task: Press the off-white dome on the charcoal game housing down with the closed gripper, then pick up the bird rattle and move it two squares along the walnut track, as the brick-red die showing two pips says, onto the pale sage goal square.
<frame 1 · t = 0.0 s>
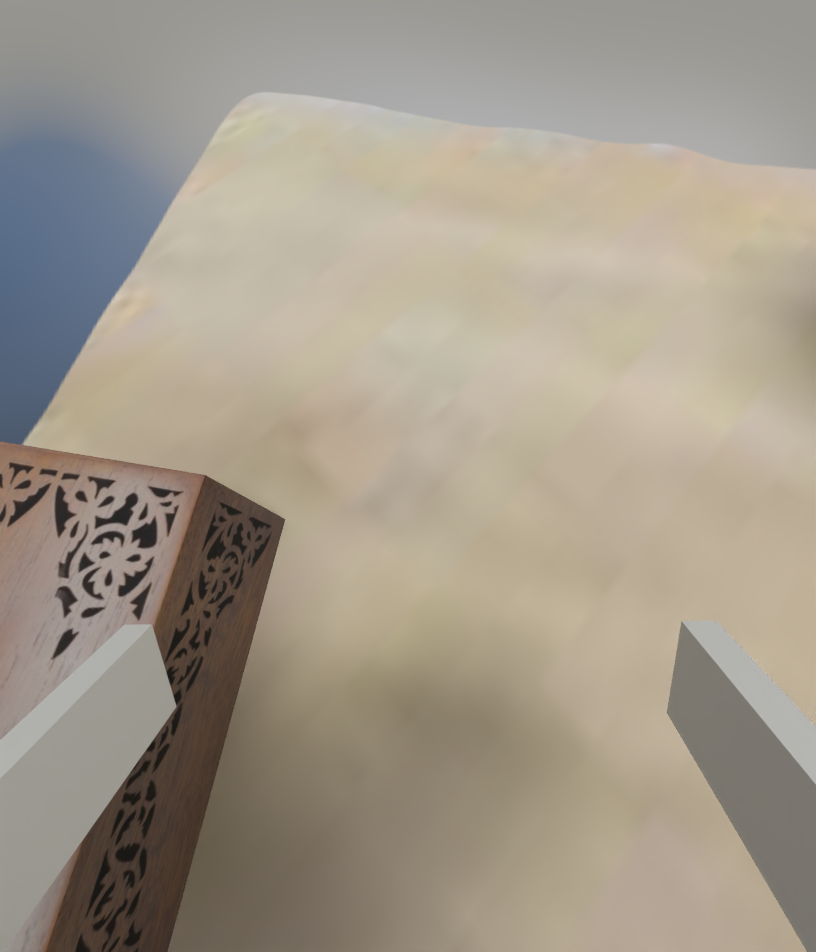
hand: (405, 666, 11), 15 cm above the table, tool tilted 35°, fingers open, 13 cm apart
tissue box cover: (121, 705, 27), on the table
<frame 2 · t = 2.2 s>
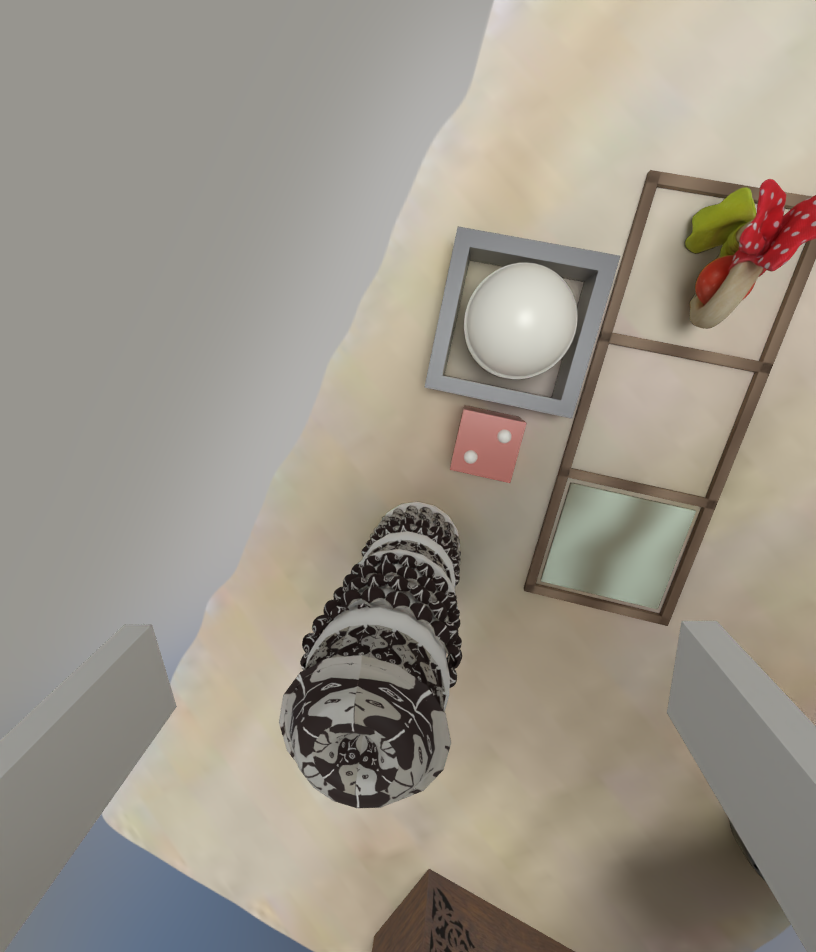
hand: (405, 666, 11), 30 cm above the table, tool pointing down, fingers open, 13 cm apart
tissue box cover: (490, 949, 55), on the table
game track: (657, 422, 37), on the table
dome housing: (511, 330, 37), on the table
dome: (520, 322, 31), point 6 cm above the table, slide at 0.0 cm
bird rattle: (707, 274, 35), on the table
decorative candle: (417, 541, 43), on the table
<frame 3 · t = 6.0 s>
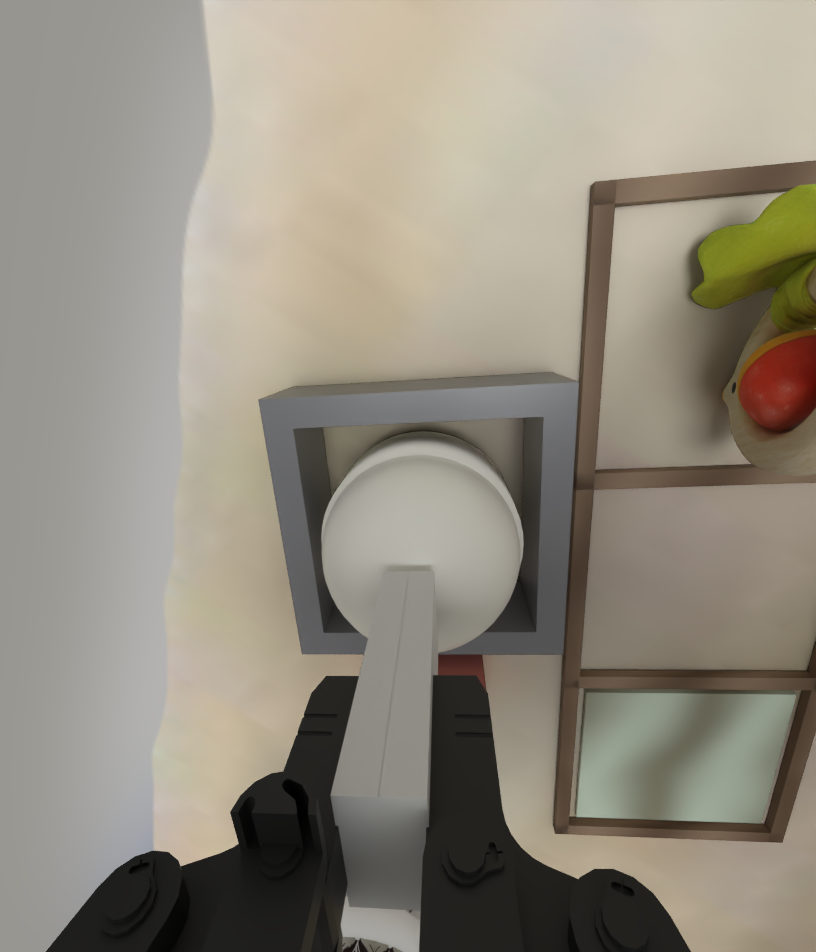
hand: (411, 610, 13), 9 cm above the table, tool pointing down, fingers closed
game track: (704, 583, 22), on the table
dome housing: (425, 500, 22), on the table
dome: (420, 549, 17), point 5 cm above the table, slide at 1.1 cm, touching gripper
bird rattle: (743, 336, 19), on the table
decorative candle: (381, 793, 29), on the table
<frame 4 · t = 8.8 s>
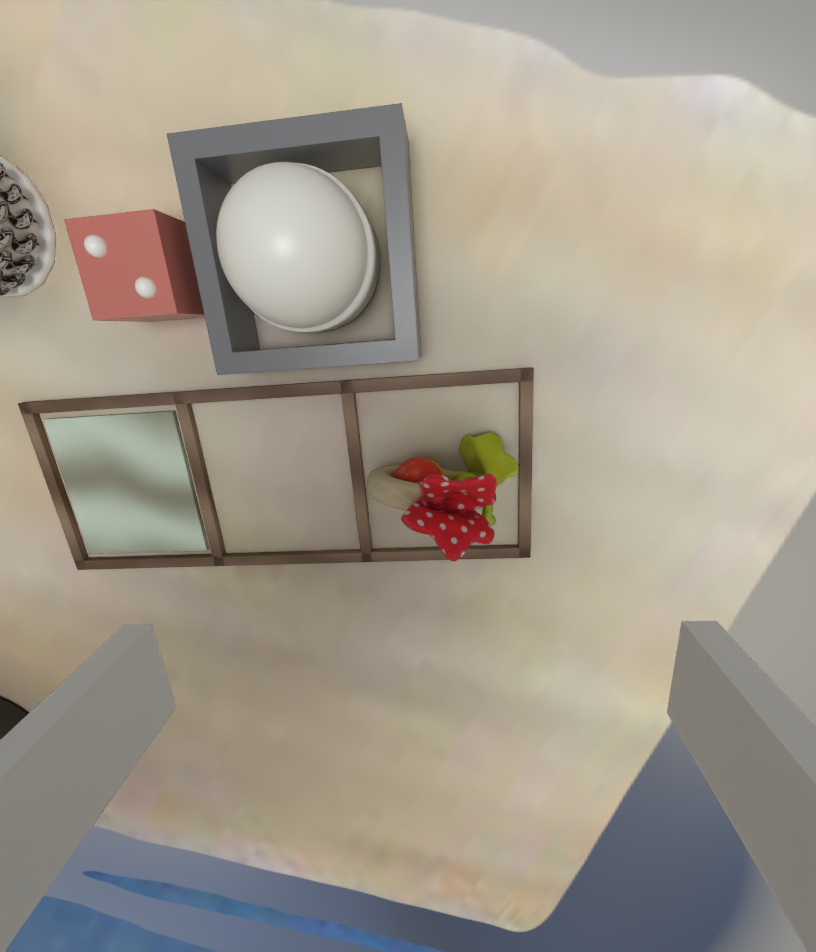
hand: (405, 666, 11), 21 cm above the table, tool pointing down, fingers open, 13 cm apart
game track: (279, 479, 32), on the table
dome housing: (319, 264, 27), on the table
dome: (295, 251, 23), point 5 cm above the table, slide at 1.5 cm
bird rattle: (442, 470, 31), on the table
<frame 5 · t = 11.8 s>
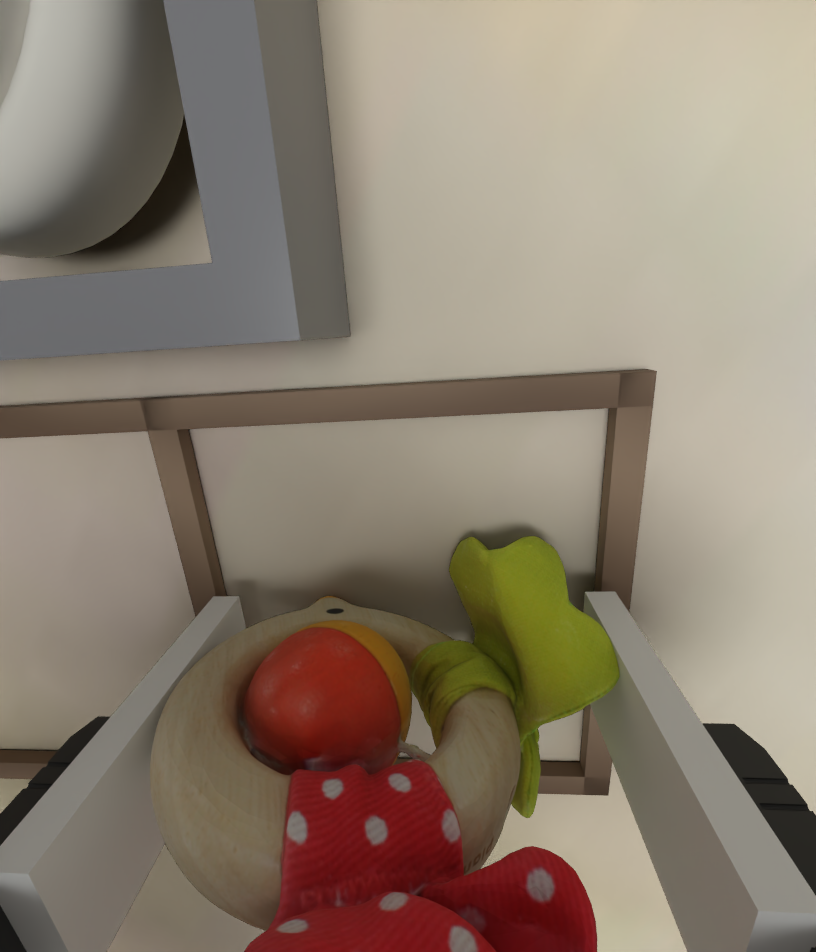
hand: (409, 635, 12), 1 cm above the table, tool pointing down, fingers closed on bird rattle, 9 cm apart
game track: (45, 615, 14), on the table
dome housing: (46, 61, 9), on the table
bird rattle: (410, 607, 13), on the table, touching gripper
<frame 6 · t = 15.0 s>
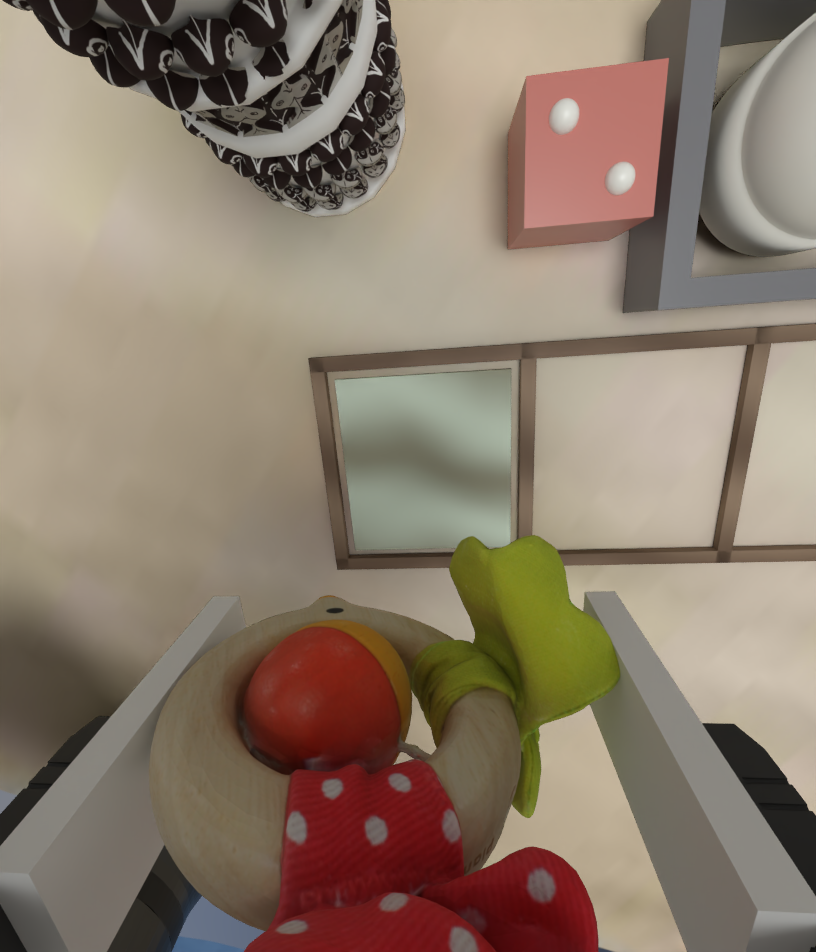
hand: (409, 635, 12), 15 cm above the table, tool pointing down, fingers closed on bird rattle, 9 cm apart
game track: (628, 457, 25), on the table
dome housing: (767, 167, 20), on the table
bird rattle: (410, 607, 13), point 14 cm above the table, touching gripper
decorative candle: (321, 120, 21), on the table
when the fingers open (3 cm above the table, at t = 18.4 s): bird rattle drops 1 cm, resting on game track.
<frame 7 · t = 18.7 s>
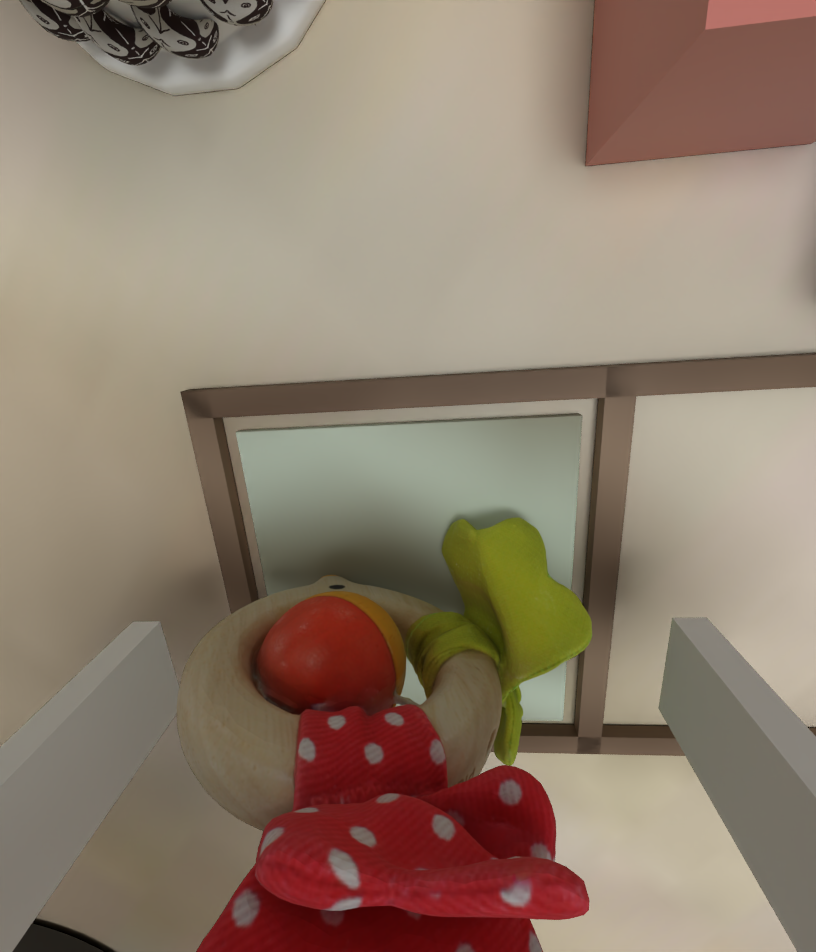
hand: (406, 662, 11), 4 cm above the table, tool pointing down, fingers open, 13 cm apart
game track: (795, 579, 13), on the table
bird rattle: (406, 586, 14), resting on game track
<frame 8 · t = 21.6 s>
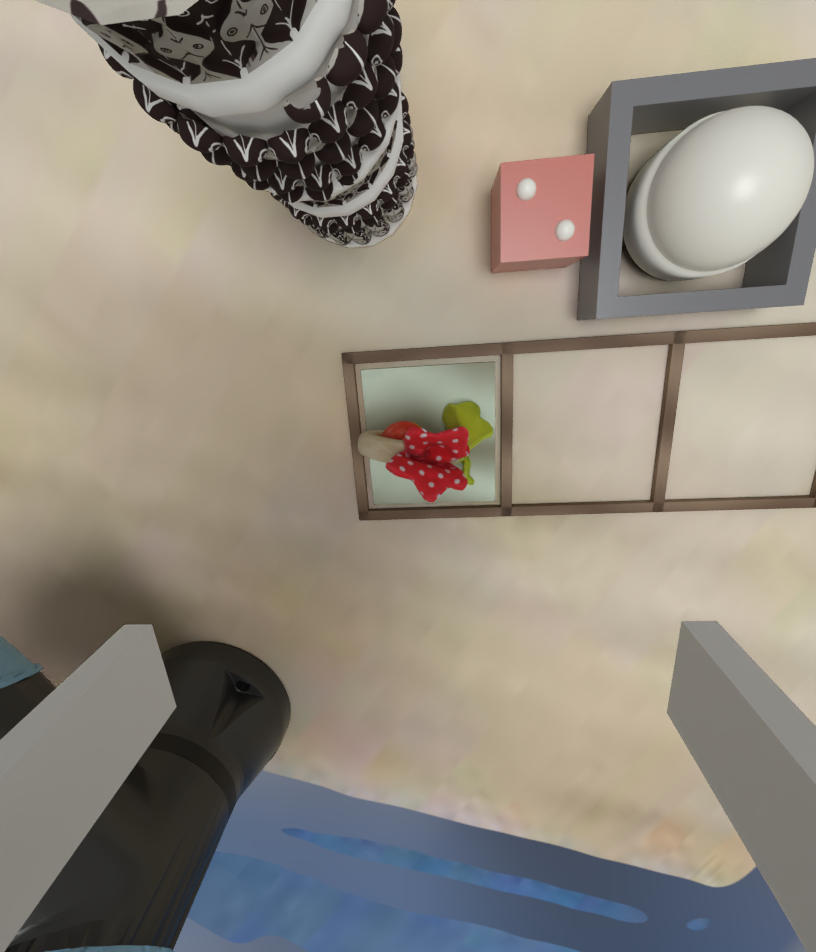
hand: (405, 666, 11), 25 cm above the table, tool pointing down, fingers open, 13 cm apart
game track: (584, 430, 33), on the table
dome housing: (677, 216, 28), on the table
dome: (720, 196, 24), point 5 cm above the table, slide at 1.5 cm
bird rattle: (427, 437, 34), resting on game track
decorative candle: (355, 178, 29), on the table
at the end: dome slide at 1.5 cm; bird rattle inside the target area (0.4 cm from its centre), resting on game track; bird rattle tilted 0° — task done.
